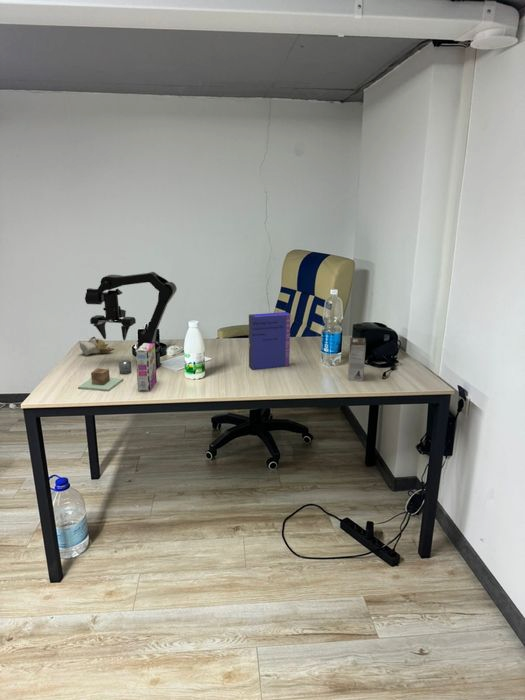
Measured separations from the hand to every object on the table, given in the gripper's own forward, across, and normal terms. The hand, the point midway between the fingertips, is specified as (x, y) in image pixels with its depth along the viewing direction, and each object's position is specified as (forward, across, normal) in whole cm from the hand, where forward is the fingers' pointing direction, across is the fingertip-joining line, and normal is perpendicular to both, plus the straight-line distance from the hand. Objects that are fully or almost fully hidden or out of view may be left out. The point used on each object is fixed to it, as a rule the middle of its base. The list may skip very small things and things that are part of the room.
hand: (114, 339), depth 207 cm
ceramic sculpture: (+12, +18, -15) cm, 27 cm away
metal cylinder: (+12, -8, +8) cm, 17 cm away
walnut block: (+11, -5, +23) cm, 26 cm away
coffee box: (+12, -105, -6) cm, 106 cm away
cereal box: (+12, -67, -12) cm, 69 cm away
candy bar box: (+12, -24, +21) cm, 34 cm away
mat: (+12, -5, +23) cm, 26 cm away
